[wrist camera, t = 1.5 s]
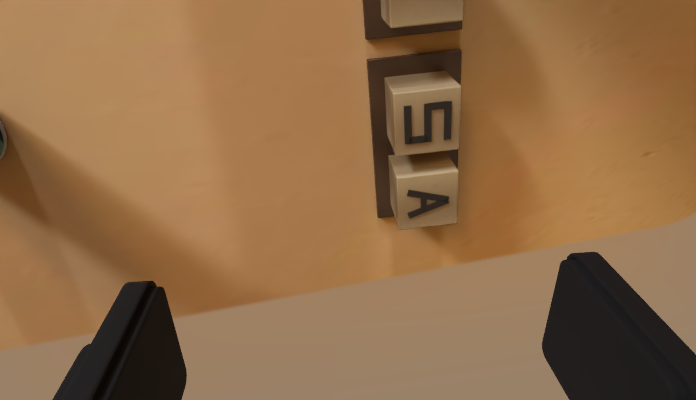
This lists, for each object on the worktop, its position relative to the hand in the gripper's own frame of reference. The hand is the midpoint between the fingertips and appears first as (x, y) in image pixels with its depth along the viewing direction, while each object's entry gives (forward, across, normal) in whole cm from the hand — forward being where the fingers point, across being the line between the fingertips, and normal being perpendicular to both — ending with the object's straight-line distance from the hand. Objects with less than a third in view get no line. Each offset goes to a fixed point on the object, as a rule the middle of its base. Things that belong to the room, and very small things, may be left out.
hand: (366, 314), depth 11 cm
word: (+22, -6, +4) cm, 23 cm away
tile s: (+21, -6, +1) cm, 22 cm away
